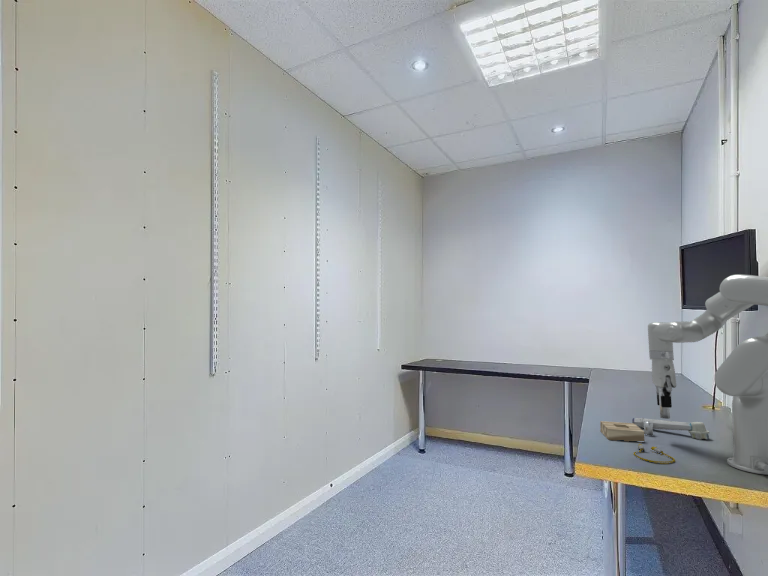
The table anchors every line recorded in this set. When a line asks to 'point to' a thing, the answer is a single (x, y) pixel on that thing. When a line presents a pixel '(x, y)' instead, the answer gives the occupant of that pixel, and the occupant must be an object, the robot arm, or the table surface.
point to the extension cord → (656, 451)
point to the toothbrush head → (676, 426)
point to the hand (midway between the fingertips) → (664, 405)
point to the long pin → (663, 410)
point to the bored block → (621, 431)
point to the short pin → (648, 427)
